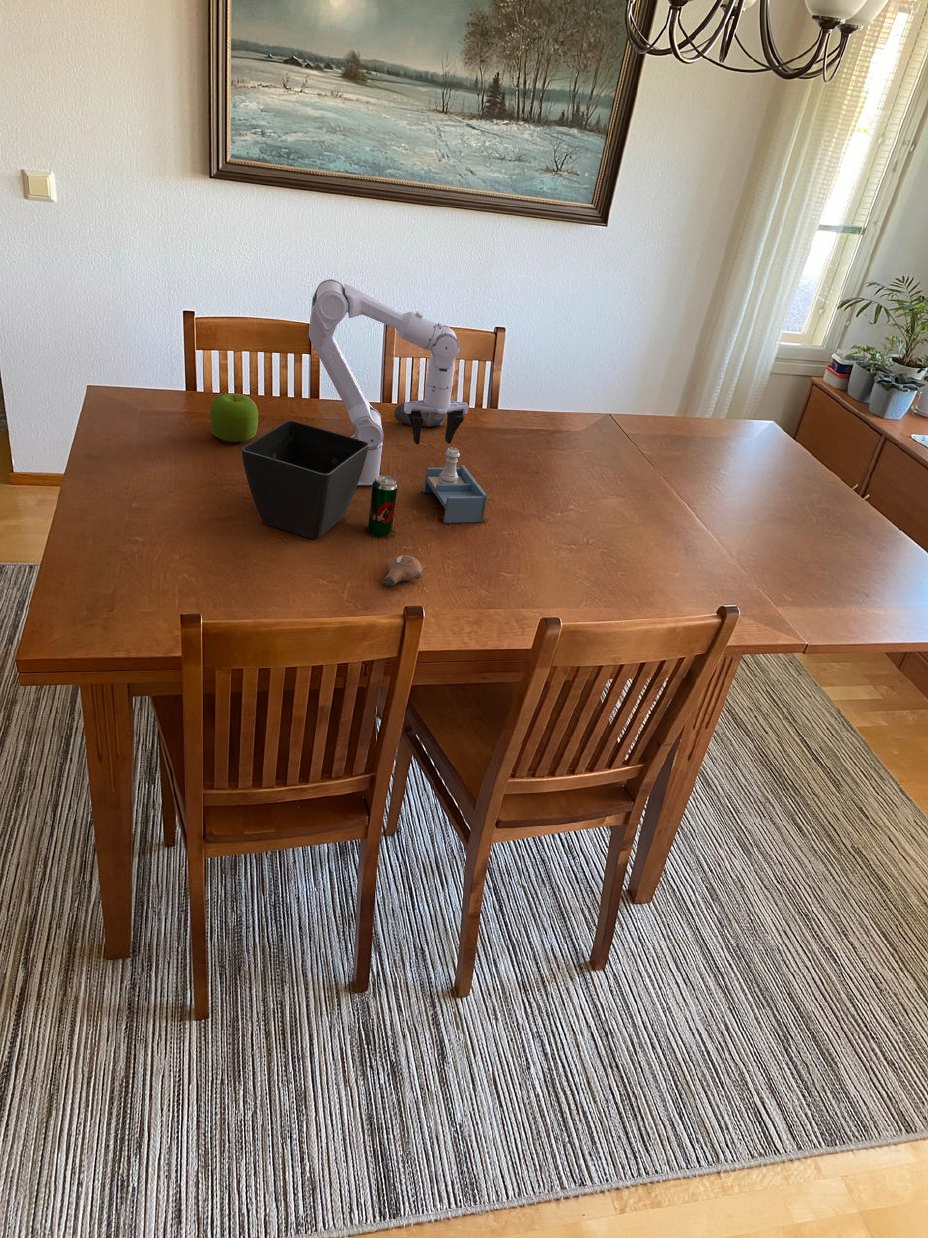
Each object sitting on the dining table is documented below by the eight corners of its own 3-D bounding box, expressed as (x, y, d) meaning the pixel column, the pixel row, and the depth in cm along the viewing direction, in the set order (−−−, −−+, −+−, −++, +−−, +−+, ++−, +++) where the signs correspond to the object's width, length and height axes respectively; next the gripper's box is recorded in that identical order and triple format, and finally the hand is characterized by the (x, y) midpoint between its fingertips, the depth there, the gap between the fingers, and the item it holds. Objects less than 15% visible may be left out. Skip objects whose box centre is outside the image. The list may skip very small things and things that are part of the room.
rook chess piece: (449, 488, 199) (455, 455, 194) (434, 481, 200) (439, 448, 196) (461, 483, 202) (467, 451, 197) (446, 476, 204) (451, 443, 199)
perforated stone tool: (393, 426, 234) (396, 401, 230) (391, 419, 238) (394, 394, 234) (449, 431, 237) (453, 406, 234) (446, 423, 242) (450, 398, 238)
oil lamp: (371, 572, 174) (385, 595, 168) (371, 555, 171) (384, 577, 165) (414, 564, 177) (429, 586, 171) (415, 547, 174) (429, 568, 168)
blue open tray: (444, 522, 194) (448, 496, 190) (423, 491, 205) (427, 465, 201) (482, 521, 197) (487, 495, 193) (459, 490, 208) (463, 465, 205)
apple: (251, 450, 208) (252, 406, 202) (205, 443, 208) (205, 399, 202) (261, 432, 218) (263, 389, 212) (217, 425, 217) (217, 382, 211)
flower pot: (237, 524, 179) (238, 447, 170) (285, 490, 194) (288, 417, 185) (321, 553, 175) (327, 475, 166) (363, 516, 190) (371, 443, 181)
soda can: (395, 531, 187) (402, 479, 180) (384, 540, 183) (390, 488, 176) (375, 523, 188) (380, 472, 182) (362, 532, 184) (368, 480, 178)
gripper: (413, 391, 190) (406, 450, 197) (476, 391, 195) (467, 448, 202) (403, 379, 195) (397, 437, 203) (465, 379, 200) (457, 436, 208)
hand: (432, 442), depth 203 cm, fingers open, 7 cm apart
